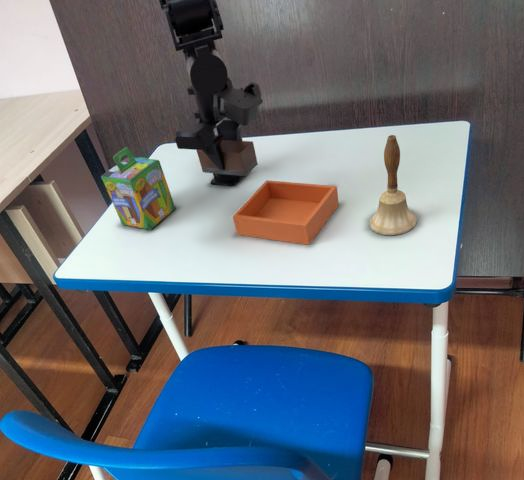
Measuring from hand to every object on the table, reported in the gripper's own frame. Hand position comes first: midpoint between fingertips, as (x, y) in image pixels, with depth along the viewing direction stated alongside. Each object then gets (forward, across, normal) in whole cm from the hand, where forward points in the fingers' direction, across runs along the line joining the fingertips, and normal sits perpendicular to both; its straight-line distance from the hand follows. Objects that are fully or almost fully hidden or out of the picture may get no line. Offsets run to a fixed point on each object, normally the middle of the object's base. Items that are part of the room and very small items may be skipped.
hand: (228, 163), depth 100 cm
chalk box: (+11, -5, +21) cm, 25 cm away
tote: (+11, 0, -11) cm, 15 cm away
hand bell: (+12, +4, -30) cm, 33 cm away
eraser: (+1, 0, 0) cm, 1 cm away
